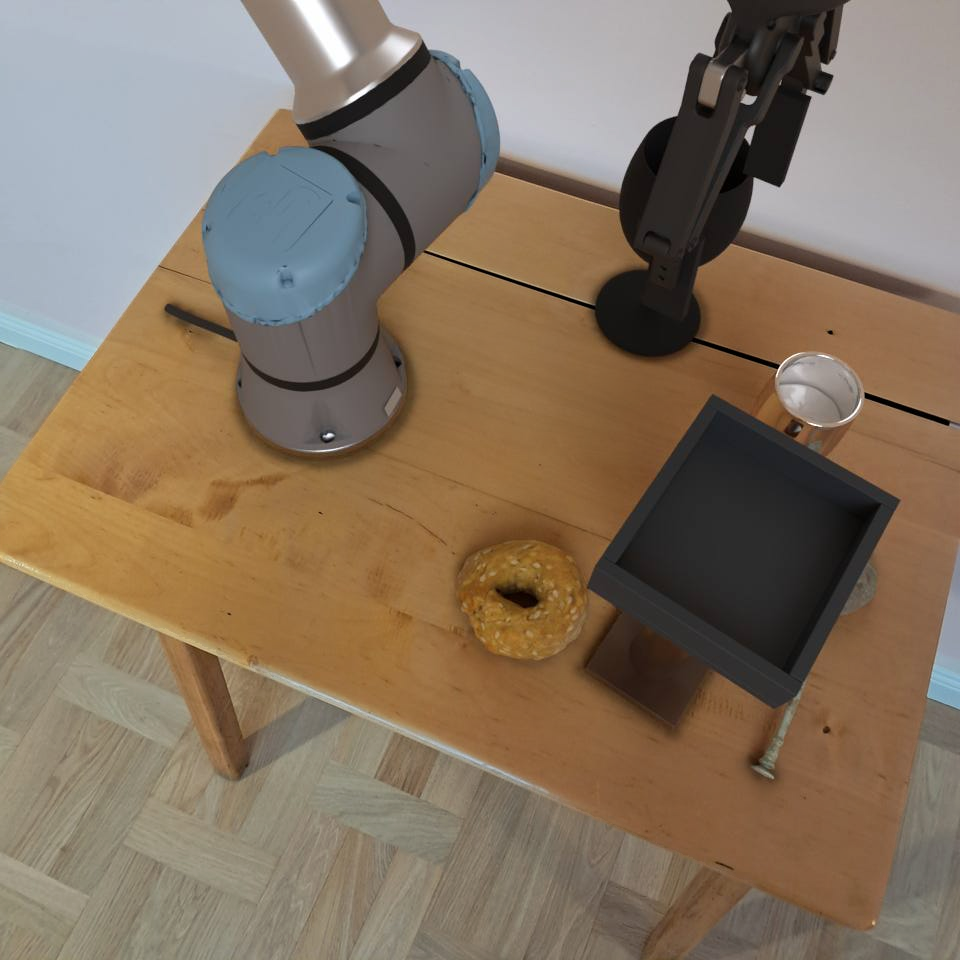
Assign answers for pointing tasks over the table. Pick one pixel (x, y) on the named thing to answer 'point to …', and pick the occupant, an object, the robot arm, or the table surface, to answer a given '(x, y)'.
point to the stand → (647, 670)
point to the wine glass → (624, 292)
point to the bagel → (531, 572)
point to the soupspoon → (855, 601)
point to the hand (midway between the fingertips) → (715, 240)
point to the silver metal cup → (811, 400)
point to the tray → (745, 550)
